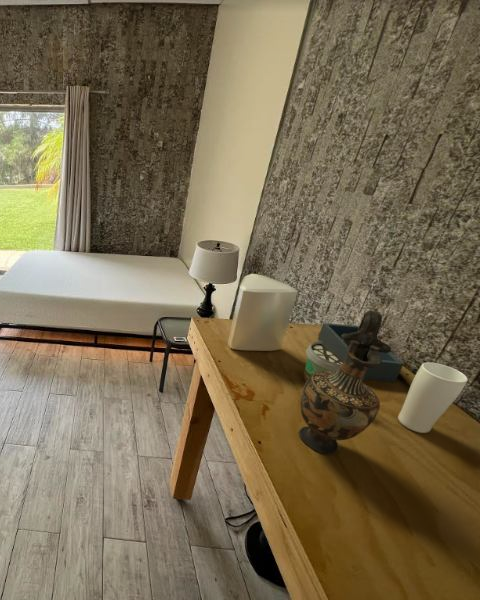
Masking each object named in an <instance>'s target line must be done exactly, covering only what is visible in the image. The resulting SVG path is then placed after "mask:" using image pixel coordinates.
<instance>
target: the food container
mask: <svg viewBox="0 0 480 600" xmlns="http://www.w3.org/2000/svg"><path fill="white" fill-rule="evenodd" d="M322 342H323V341H319V340H316V341H313V342H312V343H311V344H309V346H308V347H307V349H306V350H305V355H306V357H307V358H306V362H305V366H304V371H303V375H302V380H303V382H304V384H305V383H306V381H307V380H308V378H309V377H310V376H311V375H312V374H314V373H316V372H320V371H332V372H337V371H338V370H339V369H340V367H341V366H342V364H343V362H342V361H341V360H340V358H339V357H338V356H337V355H336V354H334V353H333V352H331V351H330V350H328V349H327V348H326V347H324V346H323V345H322Z"/></svg>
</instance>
